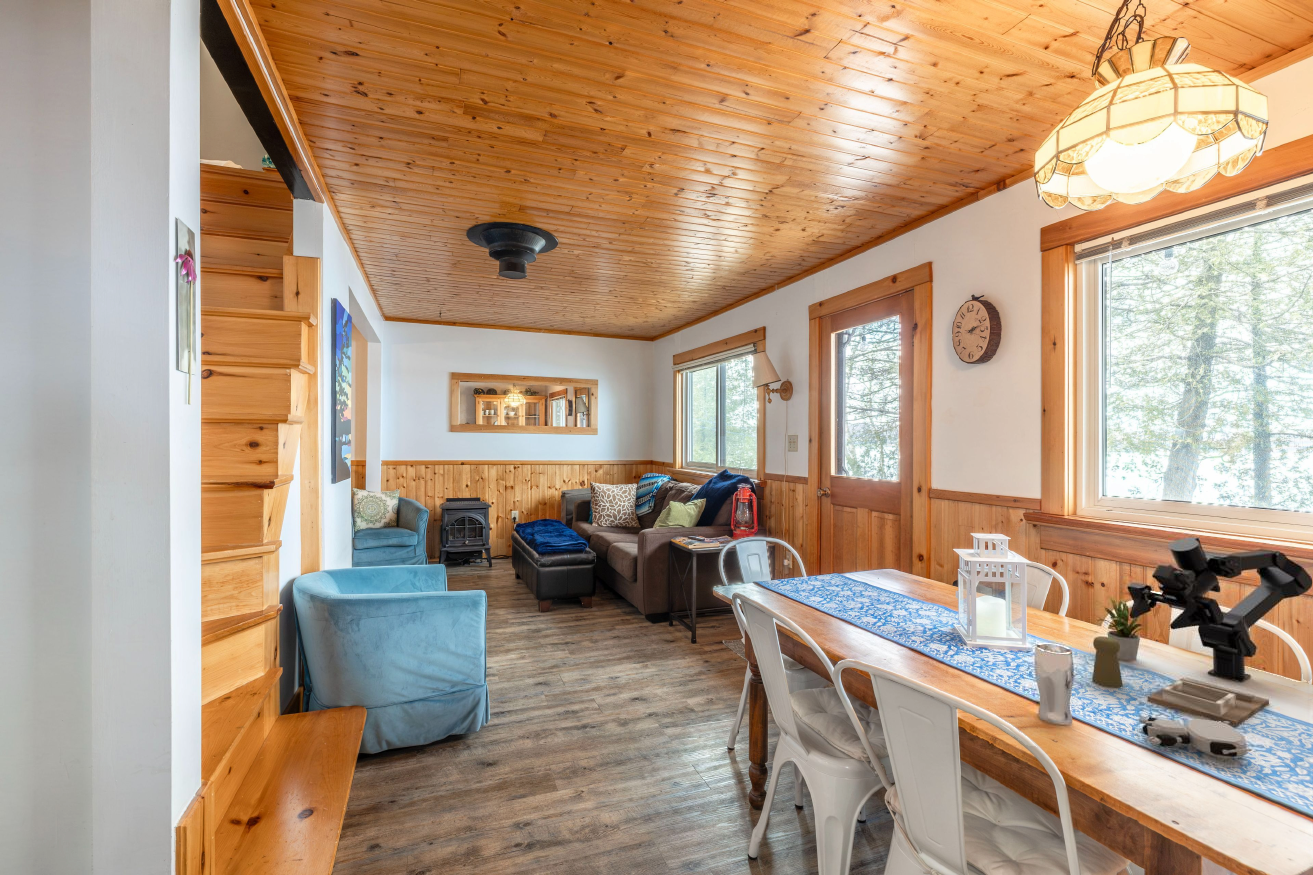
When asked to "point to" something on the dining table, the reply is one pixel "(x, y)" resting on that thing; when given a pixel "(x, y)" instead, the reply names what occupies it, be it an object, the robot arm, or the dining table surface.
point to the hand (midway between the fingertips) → (1150, 621)
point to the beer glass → (1054, 682)
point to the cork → (1107, 663)
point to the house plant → (1123, 631)
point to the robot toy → (1197, 736)
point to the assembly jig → (1209, 700)
